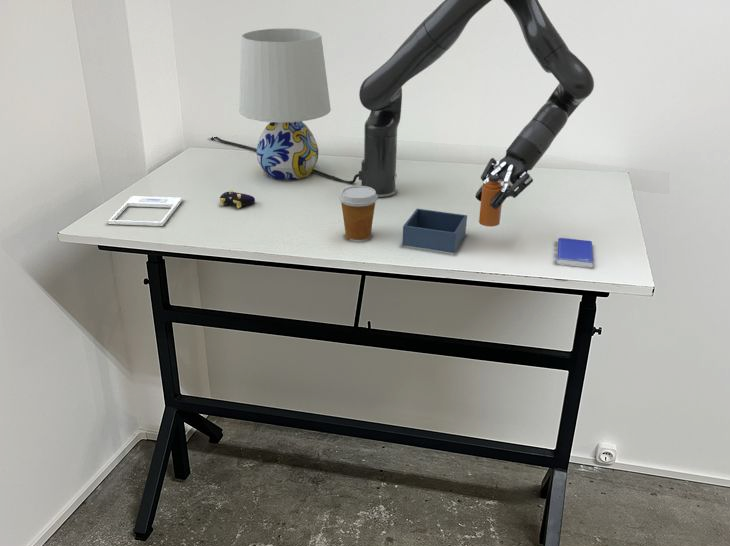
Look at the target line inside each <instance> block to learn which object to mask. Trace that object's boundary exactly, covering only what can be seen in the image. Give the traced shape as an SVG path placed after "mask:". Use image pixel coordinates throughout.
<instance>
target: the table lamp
mask: <svg viewBox="0 0 730 546" xmlns="http://www.w3.org/2000/svg"><path fill="white" fill-rule="evenodd" d="M323 45H324V44H323V37H322V33H321V32H319V31H317V30H313V29H306V28H296V27H295V28H294V27H292V28H290V27H278V28H262V29H255V30H250V31H246V32H244V33H242V34H241V35H240V69H239V70H240V73H239V109H238V110H239V114H240V115H241V116H242V117H244V118H246V119H249V120H252V121H258V122H263V123H264V122H265V123H268V124H267V125H266V126H265V127H264V129H263V131H262V132H261V134H260V137H259V139H258V142H257V147H256V149H257V151H256V157H257V162H258V164H259V165H260V168H261V169H262V171H263V172H264V173H265V174H266V175H267V177H269V178H270V179H273V180H277V181H297V180H303V179H305V178H307V177H309V176H310V175H311V173H313V172H312V170H313V169H315V168H316V165H317V162H318V160H319V147H318V143H317V140H316V138H315V136H314V134H313V133H312V131H311V129H310V128H309V127H308V126H307V125H306V123H304V122H307V121H312V120H316V119H319V118H323V117H325V116H327V115H328V114H329V113H330V112H331V111H332V110H331V109H332V108H331V101H330V94H329V85H328V78H327V77H328V76H327V70H326V62H325V53H324V46H323Z"/></svg>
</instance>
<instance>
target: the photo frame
mask: <svg viewBox="0 0 730 546" xmlns="http://www.w3.org/2000/svg"><path fill="white" fill-rule="evenodd" d="M182 202H183V197H177V196H175V197H172V196H170V197H169V196H141V195H131V196H130V197H129V198H128V199H127V200H126V202H124V204H122V205H121V206H120V207H119V209H117V210H116V211H115V213H114V214H113V215H111V217H110V218H109V219H108V220H107V223H108V225H121V226H123V225H124V226H125V225H126V226H151V227H153V226H154V227H164V225H165V224H166V222H167V221H168V220H169V218H170V217H171V216H172V215H173V213H174V212H175V211H176V210H177V208H178V207H179V206H180V204H181V203H182ZM128 207H139V208H166V209H167V208H169V210H168V212H167V213H166V214H165V215H164V216H163V218H162V219H161V220H160V221H158V220H157V221H155V220H154V221H153V220H129V219H127V220H126V219H118V217H119V216H120V215H121V214H122V213H123V212H124V211H125V210H126V209H127V208H128Z"/></svg>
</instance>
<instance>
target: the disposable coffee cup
mask: <svg viewBox="0 0 730 546" xmlns="http://www.w3.org/2000/svg"><path fill="white" fill-rule="evenodd" d="M378 198H379V197H378V196H377V195H376V191H375V190H374V189H373V188H371V187H367V186H362V185H350V186H346V187H344V188H342V189H341V190H340V194H339V195H338V199H339V201H340V204H341V211H342V217H343V225H344V232H345V238H346V239H347V240H354V241H355V240H356V241H363V240H367V239H369V238H370V237H371V235H372V229H373V228H372V227H373V222H374V221H373V219H374V214H375V207H376V202H377V199H378Z"/></svg>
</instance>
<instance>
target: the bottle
mask: <svg viewBox="0 0 730 546" xmlns="http://www.w3.org/2000/svg"><path fill="white" fill-rule="evenodd" d="M488 180H489V182H486V184H484V185H483V184H482V185H483V186H482V185H481V186H482V195H481V201H480V205H479V215H478V223H479V224H480V225H481V226H484V227H497V226H499V225H500V224H501V223H500V222H501V214H502V205H503V203H502V204H501V206H500V207H498V208H497V209H494V208H493V207H492V206H491V205H490V203H491V201H492V200H493V199H494V198H495V196H496V195H497V194H498V193H499V191H500V192H502V191H501V189H502V187H503V185H502V184H501V183H502V182H501V183H499V182H498V181H499V176H497V175H490V176H489V178H488Z"/></svg>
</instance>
